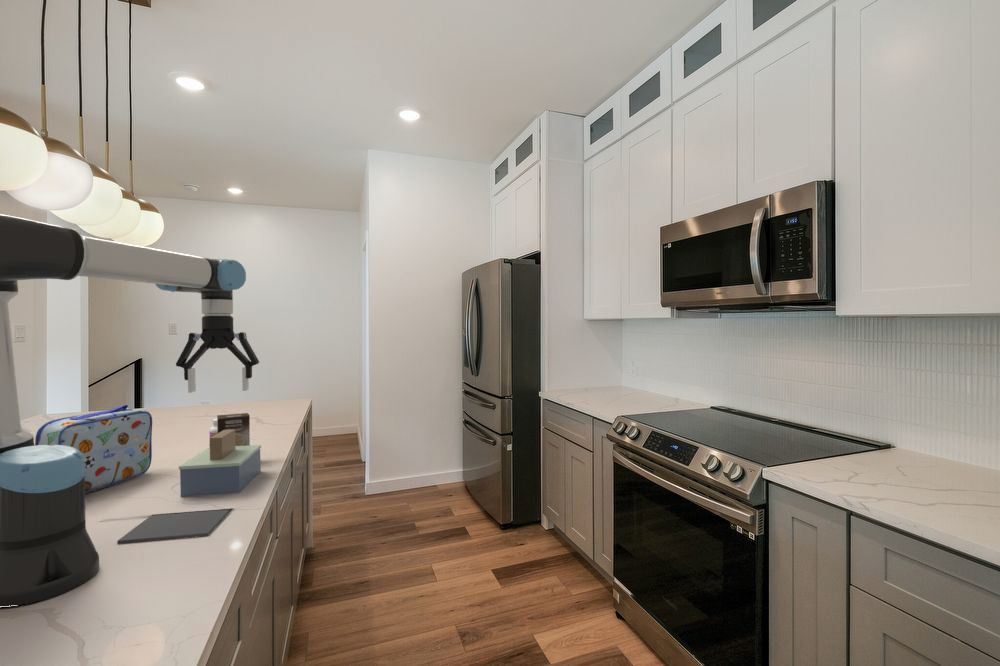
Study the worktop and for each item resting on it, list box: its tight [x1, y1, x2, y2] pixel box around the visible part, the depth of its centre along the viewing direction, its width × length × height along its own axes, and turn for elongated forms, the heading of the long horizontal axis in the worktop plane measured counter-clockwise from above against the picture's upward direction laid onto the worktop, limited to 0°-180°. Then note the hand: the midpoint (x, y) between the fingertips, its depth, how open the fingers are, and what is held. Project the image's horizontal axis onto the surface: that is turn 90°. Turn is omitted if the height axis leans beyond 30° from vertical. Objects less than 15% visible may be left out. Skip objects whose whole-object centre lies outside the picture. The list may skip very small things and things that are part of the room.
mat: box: [116, 507, 234, 545], centre depth 108 cm, size 22×17×1 cm
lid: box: [178, 429, 262, 470], centre depth 130 cm, size 18×14×8 cm
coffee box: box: [216, 412, 251, 446], centre depth 149 cm, size 9×6×16 cm
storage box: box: [179, 448, 261, 498], centre depth 130 cm, size 18×14×8 cm
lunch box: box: [34, 404, 153, 494], centre depth 131 cm, size 28×10×22 cm, turn 168°
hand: (219, 391), depth 129 cm, fingers open, 13 cm apart
